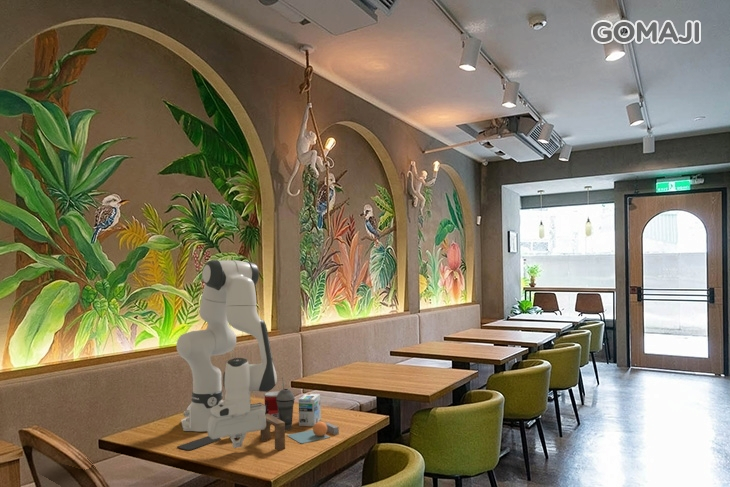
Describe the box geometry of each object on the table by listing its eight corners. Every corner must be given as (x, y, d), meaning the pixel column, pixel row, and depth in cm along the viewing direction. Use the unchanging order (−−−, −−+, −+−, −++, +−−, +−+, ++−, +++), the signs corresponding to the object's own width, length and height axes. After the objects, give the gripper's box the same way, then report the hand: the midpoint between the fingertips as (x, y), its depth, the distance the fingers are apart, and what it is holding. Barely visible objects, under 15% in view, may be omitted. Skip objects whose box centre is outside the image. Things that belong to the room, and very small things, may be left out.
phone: (222, 438, 197) (189, 450, 184) (222, 441, 197) (189, 452, 184) (208, 435, 201) (175, 446, 188) (208, 437, 201) (175, 449, 188)
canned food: (287, 418, 224) (287, 392, 224) (274, 423, 217) (274, 396, 218) (273, 416, 228) (273, 390, 228) (260, 420, 221) (260, 394, 222)
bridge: (277, 450, 184) (277, 423, 184) (260, 440, 196) (260, 415, 196) (285, 448, 186) (284, 422, 186) (268, 438, 197) (267, 413, 198)
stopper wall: (323, 429, 207) (323, 423, 207) (328, 428, 208) (328, 422, 208) (334, 434, 201) (334, 428, 201) (338, 433, 202) (338, 427, 202)
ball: (310, 435, 200) (309, 422, 199) (322, 431, 203) (321, 417, 203) (318, 440, 196) (318, 426, 195) (330, 435, 199) (329, 422, 198)
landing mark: (286, 435, 200) (286, 435, 200) (314, 429, 207) (314, 429, 207) (301, 443, 190) (301, 443, 190) (330, 437, 197) (330, 437, 197)
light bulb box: (314, 426, 212) (314, 399, 212) (298, 426, 213) (298, 399, 213) (321, 419, 222) (321, 393, 223) (305, 418, 223) (305, 393, 224)
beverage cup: (291, 432, 205) (290, 379, 206) (273, 431, 206) (273, 379, 207) (297, 426, 212) (297, 376, 213) (280, 425, 213) (279, 375, 214)
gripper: (261, 400, 193) (262, 438, 192) (205, 409, 181) (205, 450, 180) (269, 403, 187) (269, 443, 187) (211, 413, 176) (211, 455, 175)
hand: (237, 446), depth 183 cm, fingers closed
